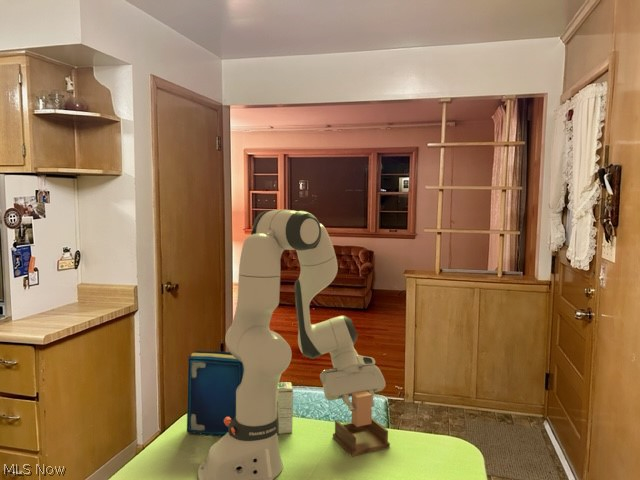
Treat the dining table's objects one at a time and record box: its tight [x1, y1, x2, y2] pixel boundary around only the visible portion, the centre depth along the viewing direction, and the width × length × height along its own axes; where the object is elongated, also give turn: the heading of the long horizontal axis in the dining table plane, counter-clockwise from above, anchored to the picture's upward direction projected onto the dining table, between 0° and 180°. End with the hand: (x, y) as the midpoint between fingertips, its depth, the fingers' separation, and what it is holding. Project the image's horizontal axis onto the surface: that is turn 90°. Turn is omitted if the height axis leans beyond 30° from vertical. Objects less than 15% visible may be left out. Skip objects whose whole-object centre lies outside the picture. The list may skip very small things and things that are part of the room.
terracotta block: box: [351, 391, 373, 427], centre depth 136 cm, size 5×3×9 cm
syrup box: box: [277, 381, 294, 435], centre depth 144 cm, size 6×6×14 cm
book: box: [186, 350, 244, 437], centre depth 142 cm, size 22×7×25 cm, turn 84°
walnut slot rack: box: [332, 416, 391, 457], centre depth 136 cm, size 13×12×5 cm
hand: (362, 408), depth 135 cm, fingers closed on terracotta block, 5 cm apart
